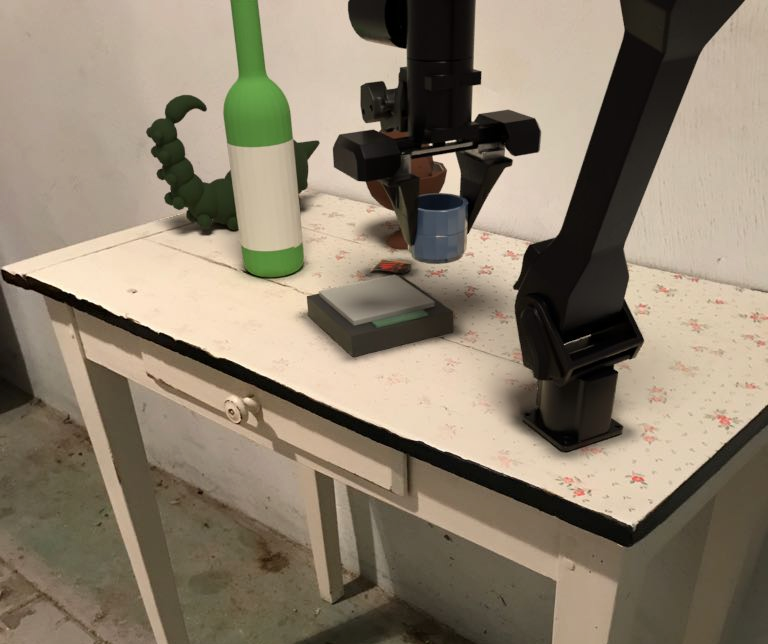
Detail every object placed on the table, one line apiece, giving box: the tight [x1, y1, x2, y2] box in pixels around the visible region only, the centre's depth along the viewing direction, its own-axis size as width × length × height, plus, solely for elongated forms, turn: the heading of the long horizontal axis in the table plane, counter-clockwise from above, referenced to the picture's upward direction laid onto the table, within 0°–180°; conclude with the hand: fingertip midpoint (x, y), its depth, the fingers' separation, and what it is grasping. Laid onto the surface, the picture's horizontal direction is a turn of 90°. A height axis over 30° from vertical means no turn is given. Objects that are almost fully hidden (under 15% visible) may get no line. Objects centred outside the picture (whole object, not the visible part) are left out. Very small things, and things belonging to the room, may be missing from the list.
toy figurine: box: [145, 94, 320, 231], centre depth 116 cm, size 9×19×25 cm
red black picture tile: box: [369, 258, 412, 274], centre depth 104 cm, size 5×5×1 cm
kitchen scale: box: [306, 274, 455, 358], centre depth 90 cm, size 12×12×3 cm
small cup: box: [407, 192, 468, 265], centre depth 78 cm, size 6×6×5 cm
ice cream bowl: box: [365, 129, 448, 250], centre depth 107 cm, size 11×11×15 cm
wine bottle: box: [222, 0, 305, 278], centre depth 96 cm, size 8×8×30 cm
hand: (437, 238), depth 79 cm, fingers closed on small cup, 6 cm apart
